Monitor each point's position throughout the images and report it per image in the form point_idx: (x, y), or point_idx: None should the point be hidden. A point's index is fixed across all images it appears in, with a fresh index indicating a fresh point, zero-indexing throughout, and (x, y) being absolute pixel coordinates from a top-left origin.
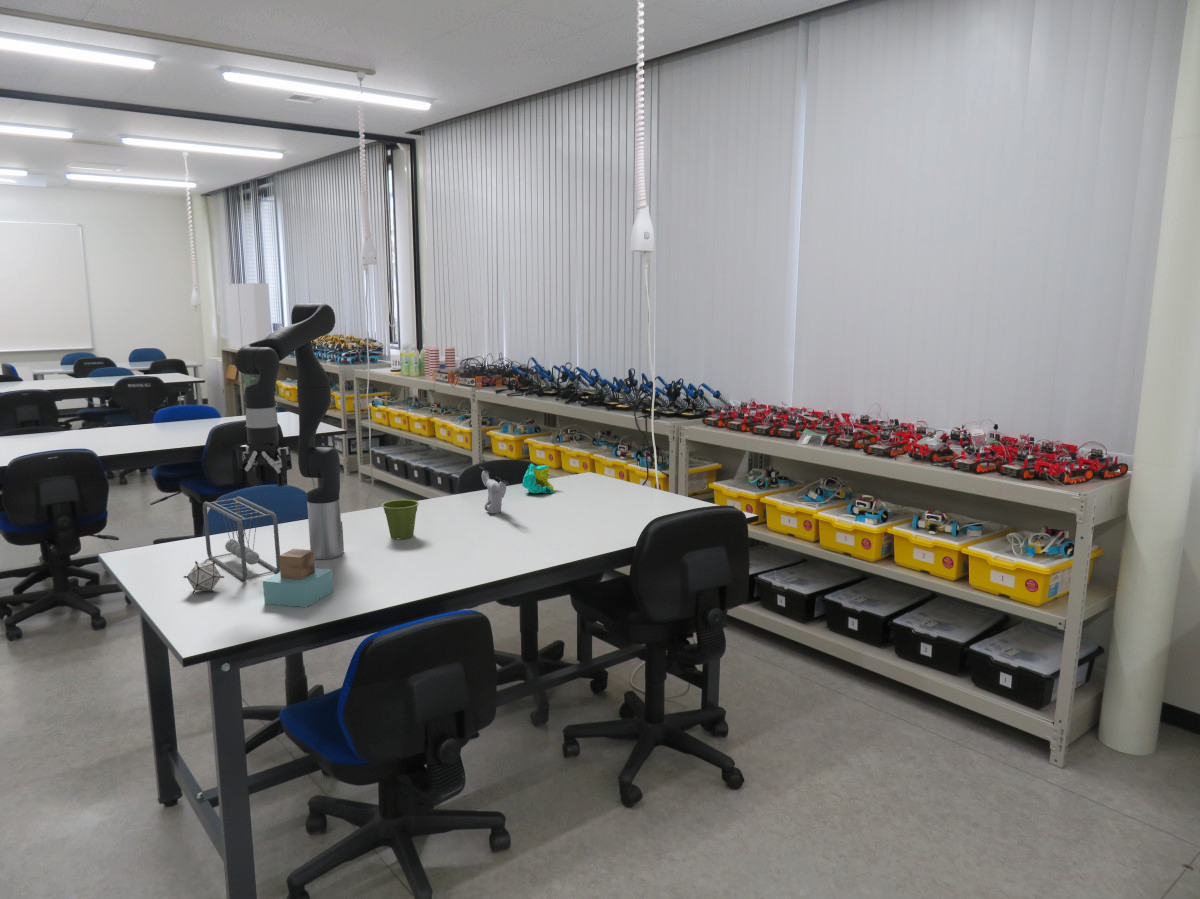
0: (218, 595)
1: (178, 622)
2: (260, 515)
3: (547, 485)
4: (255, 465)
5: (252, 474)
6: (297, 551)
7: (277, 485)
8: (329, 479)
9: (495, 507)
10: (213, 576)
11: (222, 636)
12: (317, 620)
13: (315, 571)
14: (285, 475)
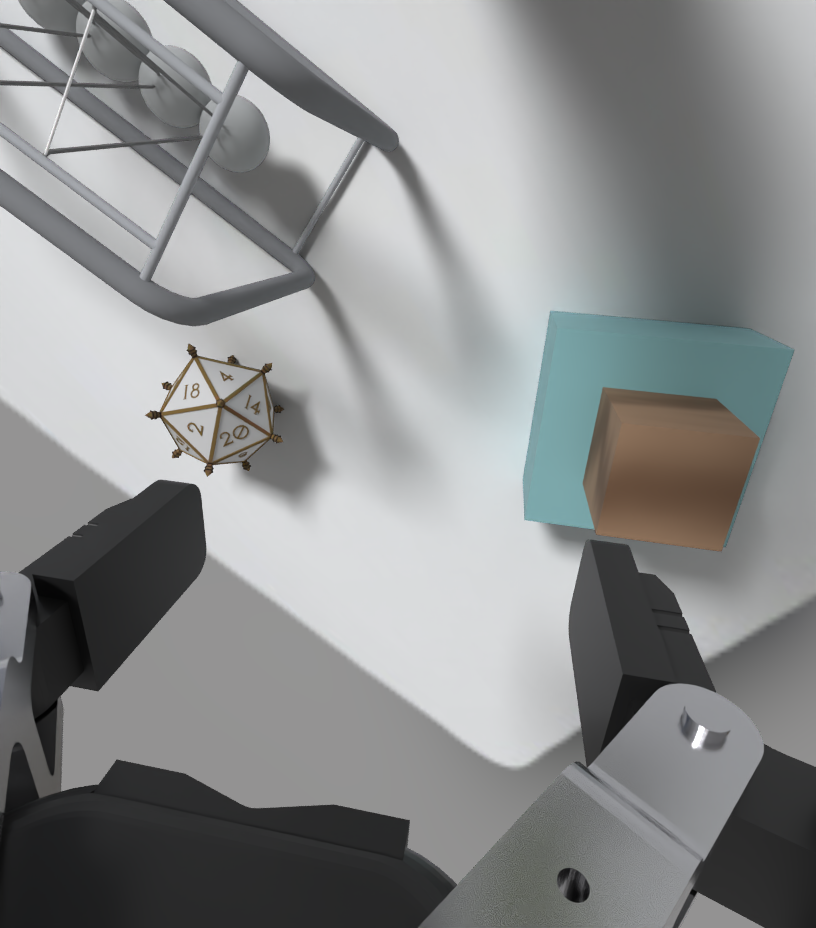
0: (317, 426)
1: (353, 620)
2: (204, 142)
3: None
4: (27, 669)
5: (123, 616)
6: (667, 465)
7: (571, 636)
8: None
9: None
10: (271, 438)
11: (530, 691)
12: (776, 592)
13: (713, 386)
14: (705, 669)
